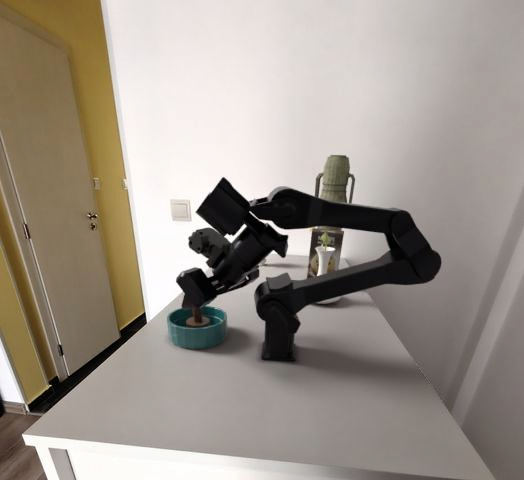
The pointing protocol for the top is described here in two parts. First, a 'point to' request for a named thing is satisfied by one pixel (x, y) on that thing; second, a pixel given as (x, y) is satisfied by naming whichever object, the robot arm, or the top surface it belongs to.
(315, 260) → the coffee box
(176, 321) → the bowl
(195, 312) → the brown peg stamp
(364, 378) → the top surface
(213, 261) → the robot arm
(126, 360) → the top surface
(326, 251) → the flower in vase
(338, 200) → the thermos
